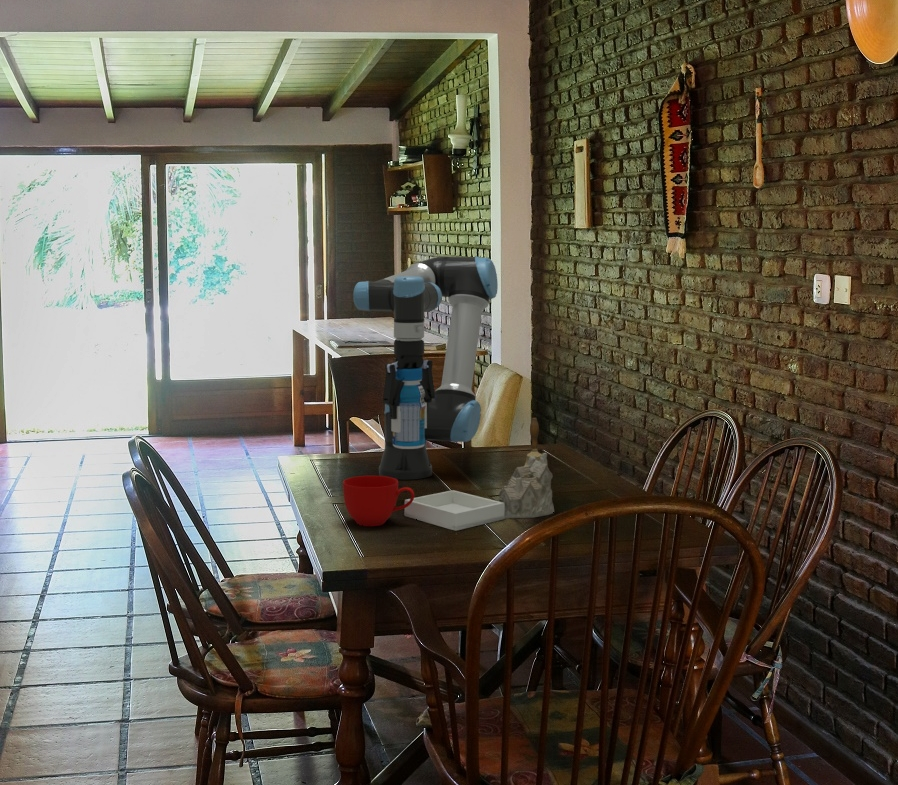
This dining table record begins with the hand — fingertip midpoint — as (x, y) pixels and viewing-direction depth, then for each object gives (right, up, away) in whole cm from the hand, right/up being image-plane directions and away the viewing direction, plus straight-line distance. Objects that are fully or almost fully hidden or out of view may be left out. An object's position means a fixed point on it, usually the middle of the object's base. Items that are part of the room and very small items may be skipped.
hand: (409, 429), depth 277 cm
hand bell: (+35, -14, +41) cm, 55 cm away
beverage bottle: (0, -4, +1) cm, 4 cm away
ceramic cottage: (+28, -20, -3) cm, 35 cm away
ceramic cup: (-6, -22, -17) cm, 28 cm away
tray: (+11, -21, -12) cm, 26 cm away
